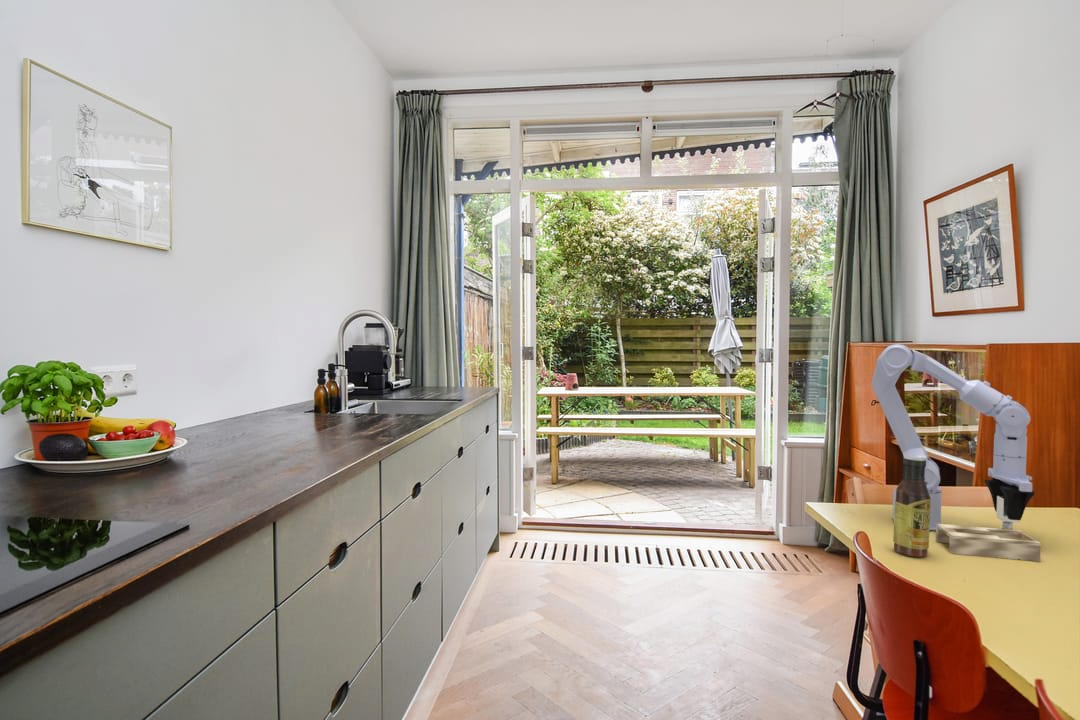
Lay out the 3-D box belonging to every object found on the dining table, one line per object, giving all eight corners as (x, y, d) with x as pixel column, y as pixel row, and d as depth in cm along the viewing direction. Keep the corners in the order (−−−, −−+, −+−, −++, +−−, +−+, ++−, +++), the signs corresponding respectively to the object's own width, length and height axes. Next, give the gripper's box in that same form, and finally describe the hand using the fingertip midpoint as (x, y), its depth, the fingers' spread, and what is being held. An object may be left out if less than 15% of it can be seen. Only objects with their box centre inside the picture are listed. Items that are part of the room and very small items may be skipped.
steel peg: (1000, 541, 127) (1001, 499, 126) (990, 534, 131) (991, 494, 131) (1023, 543, 125) (1025, 501, 125) (1013, 536, 130) (1014, 496, 129)
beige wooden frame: (951, 553, 119) (951, 535, 119) (935, 540, 127) (936, 523, 127) (1040, 561, 115) (1040, 542, 115) (1018, 547, 123) (1019, 530, 122)
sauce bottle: (917, 560, 115) (920, 462, 114) (886, 550, 120) (888, 457, 120) (935, 555, 118) (938, 459, 117) (904, 545, 124) (907, 454, 123)
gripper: (1050, 463, 119) (1048, 527, 120) (1013, 450, 133) (1011, 508, 134) (1010, 461, 121) (1008, 524, 122) (978, 448, 135) (976, 505, 136)
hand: (1007, 515), depth 128 cm, fingers open, 5 cm apart
